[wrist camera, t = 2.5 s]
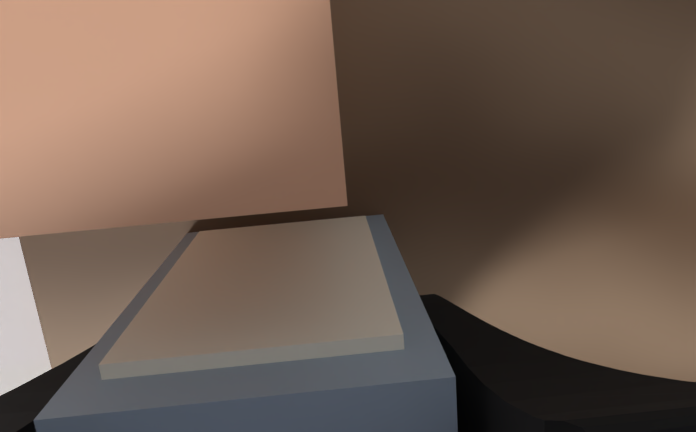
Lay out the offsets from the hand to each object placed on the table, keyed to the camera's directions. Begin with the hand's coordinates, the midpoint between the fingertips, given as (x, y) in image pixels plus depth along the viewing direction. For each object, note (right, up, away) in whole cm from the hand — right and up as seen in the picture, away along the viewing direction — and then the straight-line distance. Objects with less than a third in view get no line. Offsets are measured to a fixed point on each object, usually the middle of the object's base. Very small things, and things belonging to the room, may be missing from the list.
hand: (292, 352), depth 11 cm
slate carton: (0, 0, +2) cm, 2 cm away
